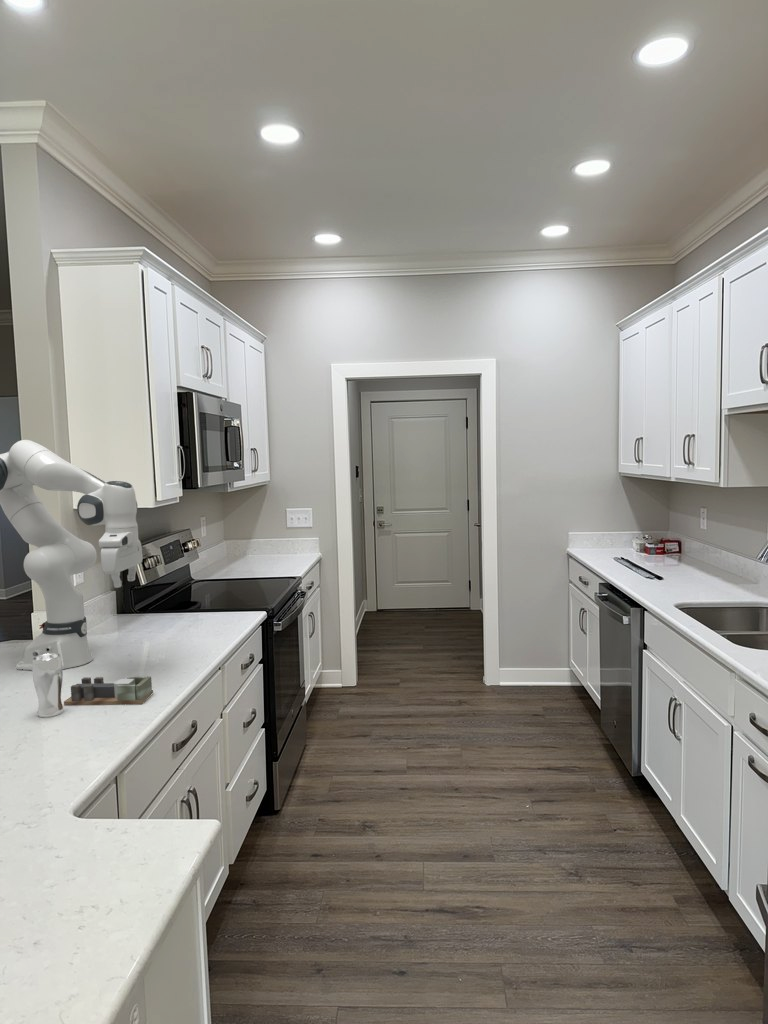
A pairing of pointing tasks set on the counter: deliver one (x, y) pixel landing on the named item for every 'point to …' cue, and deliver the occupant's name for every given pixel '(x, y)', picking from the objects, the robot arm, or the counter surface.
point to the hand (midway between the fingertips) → (124, 584)
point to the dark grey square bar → (107, 688)
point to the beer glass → (48, 683)
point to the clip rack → (124, 693)
